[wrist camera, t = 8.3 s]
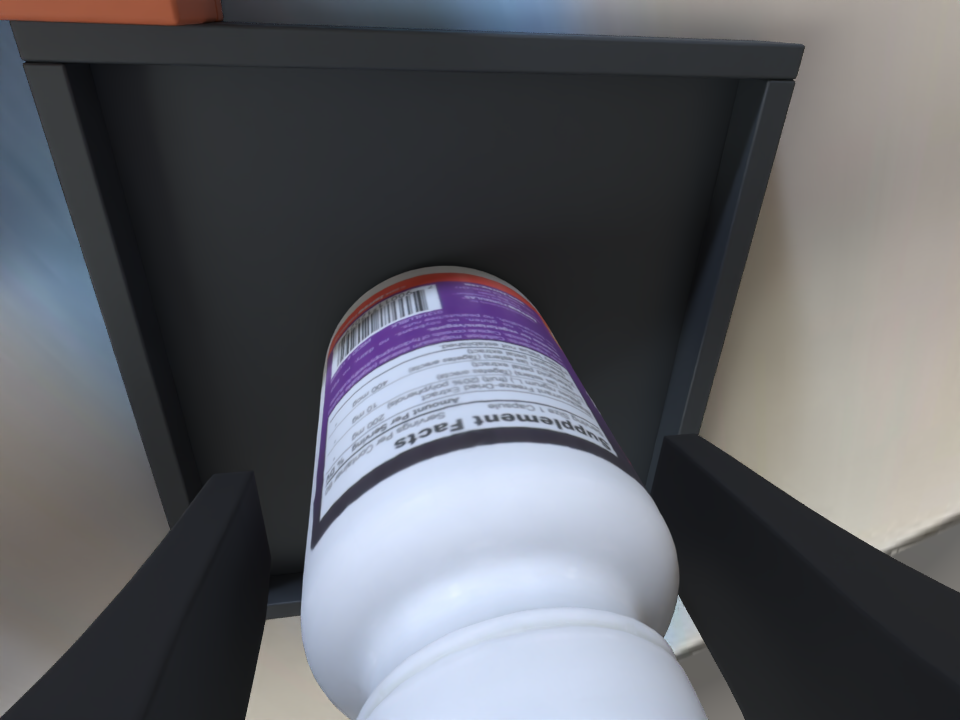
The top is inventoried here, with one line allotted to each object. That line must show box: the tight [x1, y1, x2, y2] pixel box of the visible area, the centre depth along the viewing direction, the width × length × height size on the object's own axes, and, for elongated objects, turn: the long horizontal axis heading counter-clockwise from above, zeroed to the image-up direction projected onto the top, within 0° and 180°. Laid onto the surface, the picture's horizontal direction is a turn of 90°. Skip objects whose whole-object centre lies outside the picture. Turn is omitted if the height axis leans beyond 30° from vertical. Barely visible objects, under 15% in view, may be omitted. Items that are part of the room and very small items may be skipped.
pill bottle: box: [301, 266, 708, 720], centre depth 10 cm, size 5×5×10 cm
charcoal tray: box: [9, 20, 805, 620], centre depth 14 cm, size 14×13×1 cm
